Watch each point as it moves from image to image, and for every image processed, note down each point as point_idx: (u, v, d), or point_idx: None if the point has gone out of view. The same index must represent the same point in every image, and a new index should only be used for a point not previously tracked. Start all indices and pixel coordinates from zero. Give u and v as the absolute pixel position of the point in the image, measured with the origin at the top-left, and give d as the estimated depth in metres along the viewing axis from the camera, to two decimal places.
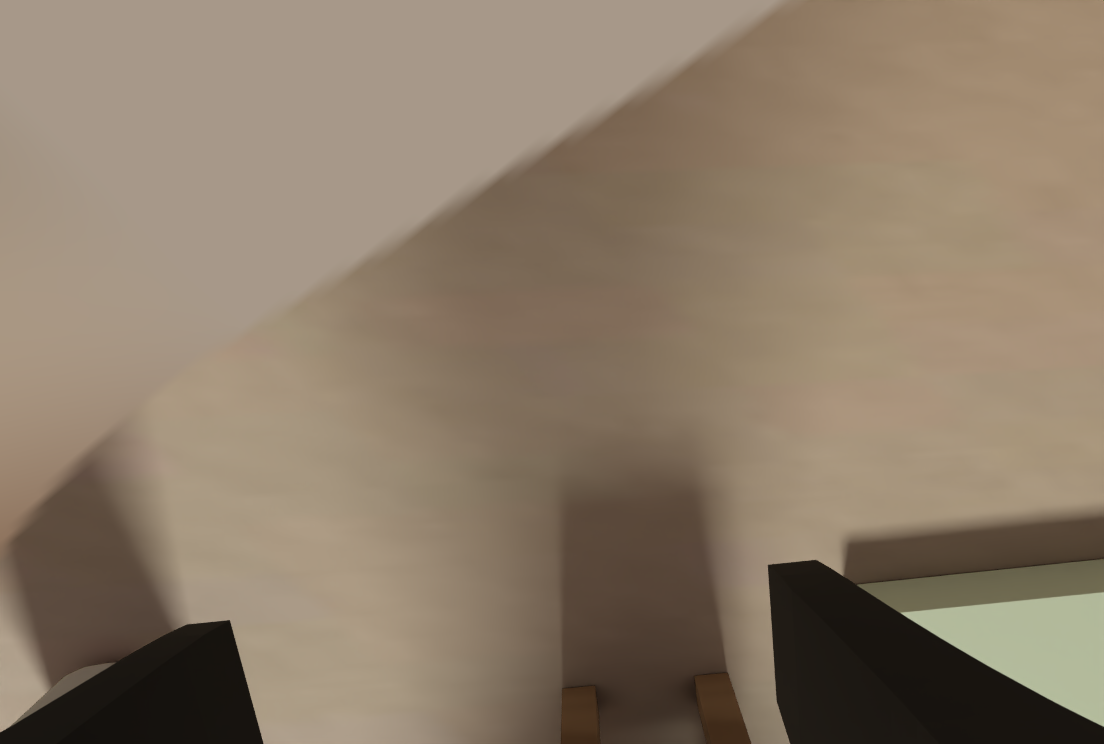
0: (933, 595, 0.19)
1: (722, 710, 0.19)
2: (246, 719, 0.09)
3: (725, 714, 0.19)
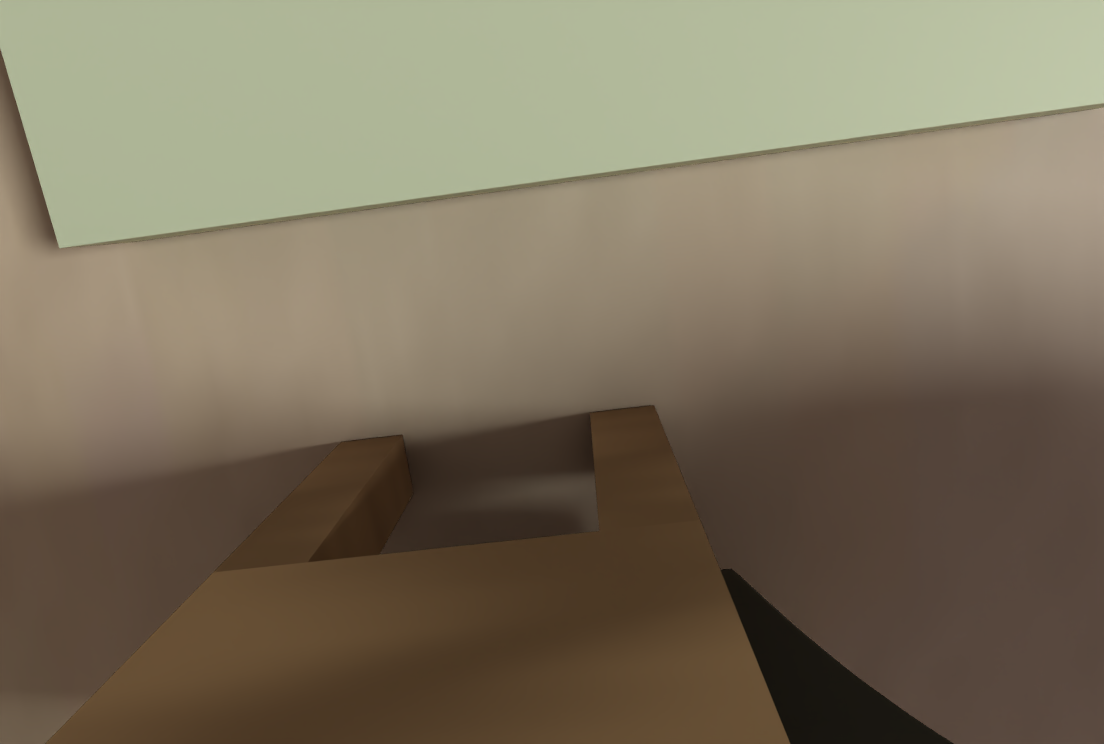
0: None
1: None
2: None
3: None
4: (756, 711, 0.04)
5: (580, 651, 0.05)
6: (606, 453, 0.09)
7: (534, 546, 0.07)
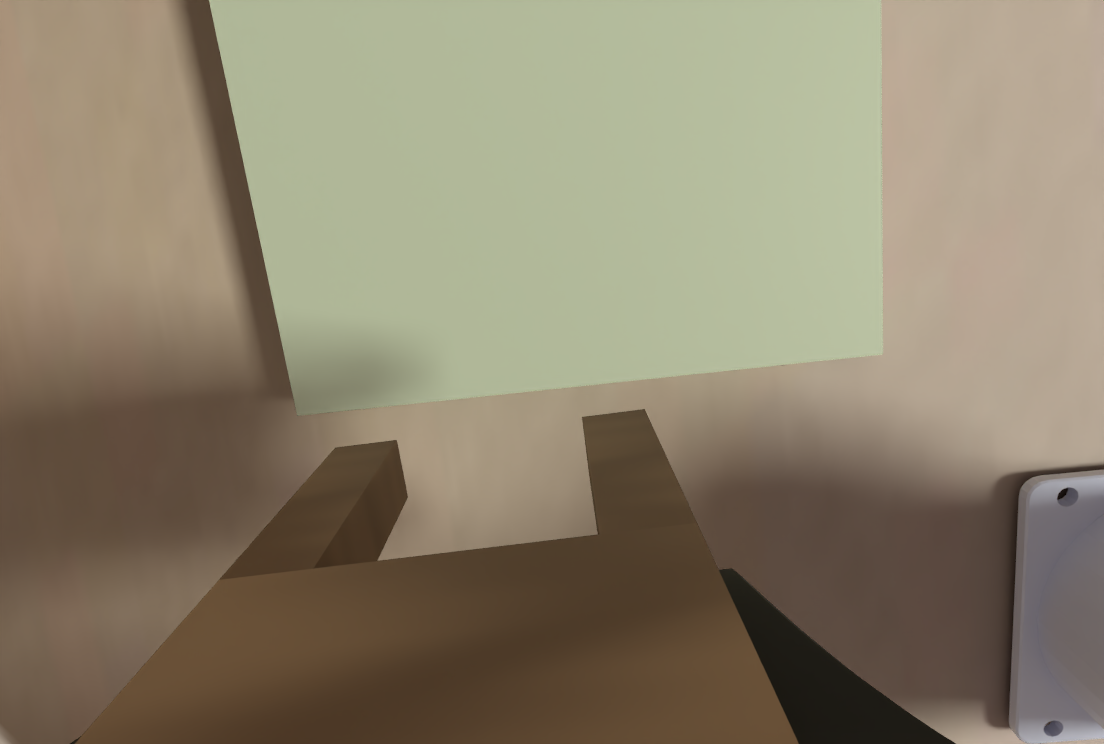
0: None
1: None
2: None
3: None
4: (761, 705, 0.04)
5: (589, 651, 0.05)
6: (601, 457, 0.09)
7: (537, 550, 0.07)
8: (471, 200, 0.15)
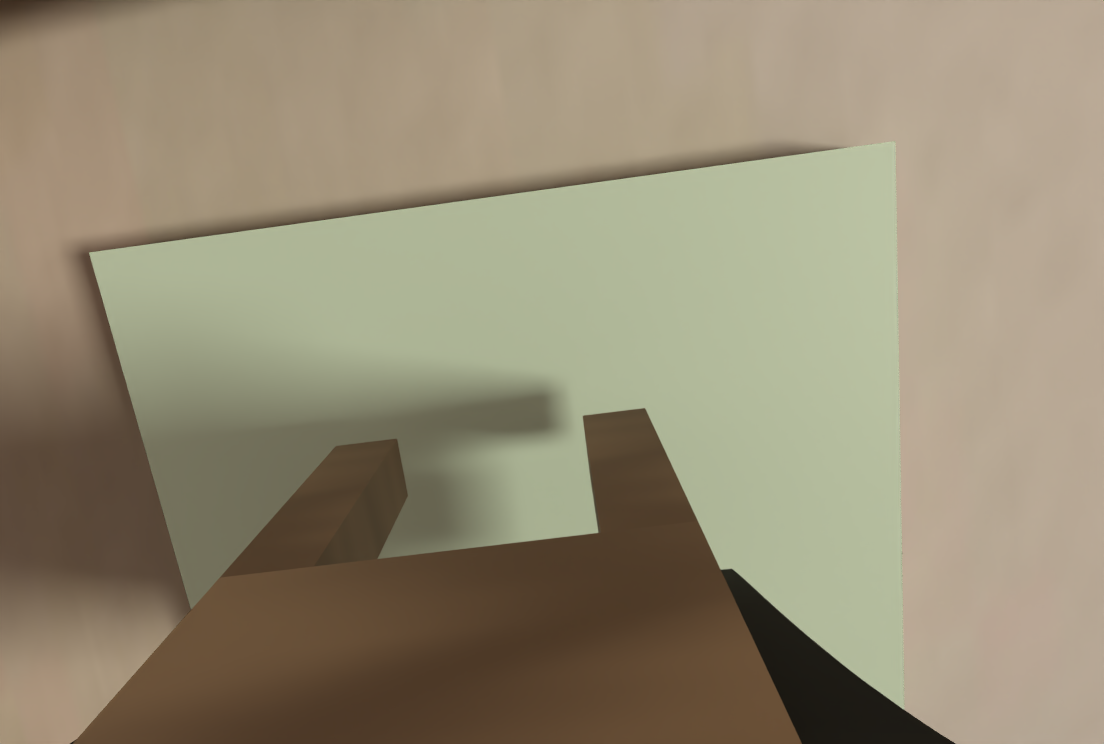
0: None
1: None
2: None
3: None
4: (763, 703, 0.04)
5: (591, 648, 0.05)
6: (601, 456, 0.09)
7: (538, 548, 0.07)
8: None
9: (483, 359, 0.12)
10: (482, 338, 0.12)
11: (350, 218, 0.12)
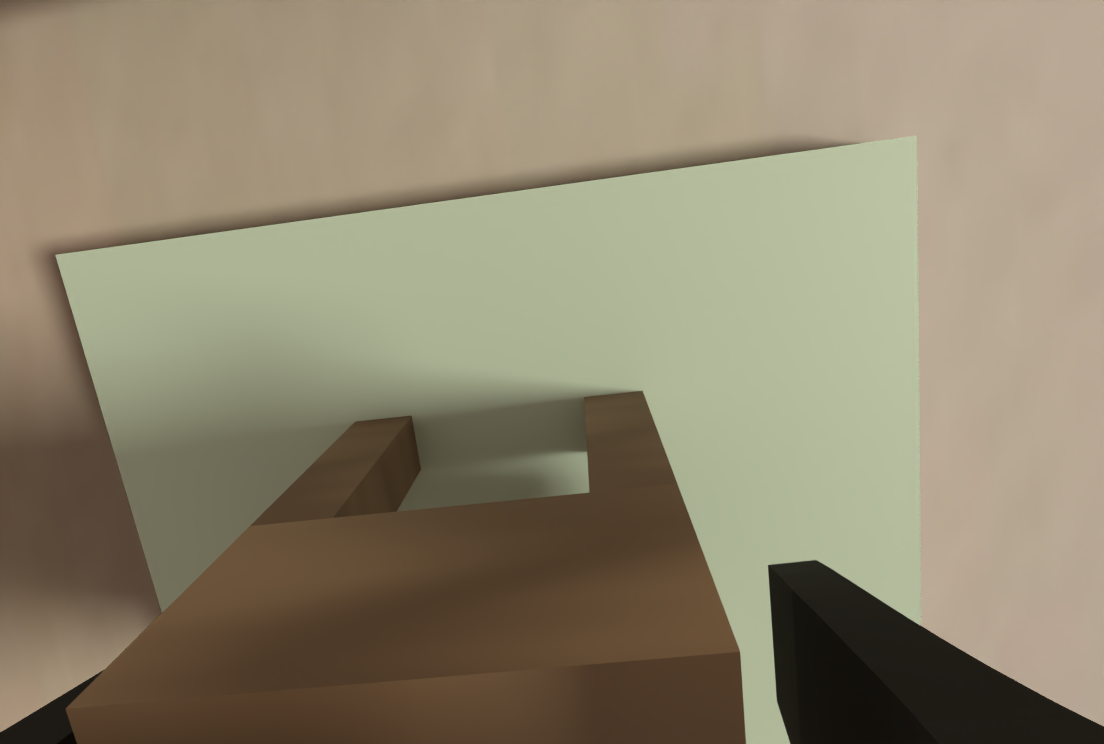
0: None
1: None
2: None
3: None
4: (712, 620, 0.05)
5: (571, 580, 0.06)
6: (597, 430, 0.10)
7: (532, 504, 0.08)
8: None
9: (476, 368, 0.12)
10: (475, 346, 0.12)
11: (334, 218, 0.11)
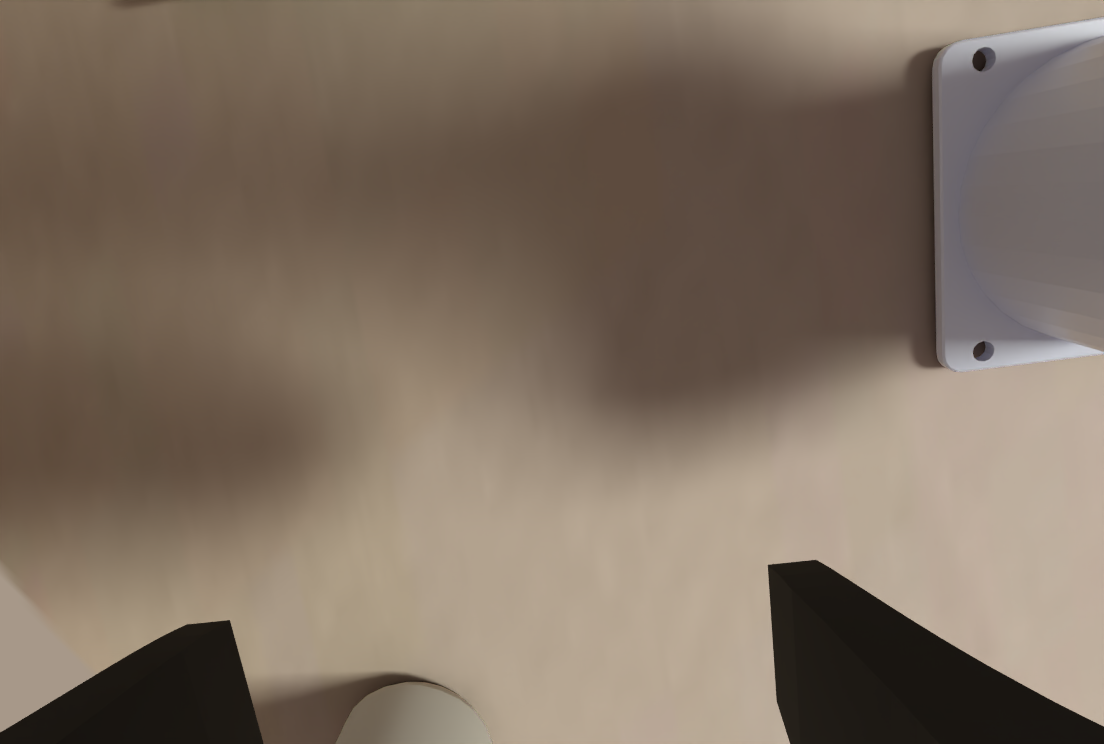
0: None
1: None
2: (246, 719, 0.09)
3: None
4: None
5: None
6: None
7: None
8: None
9: None
10: None
11: None
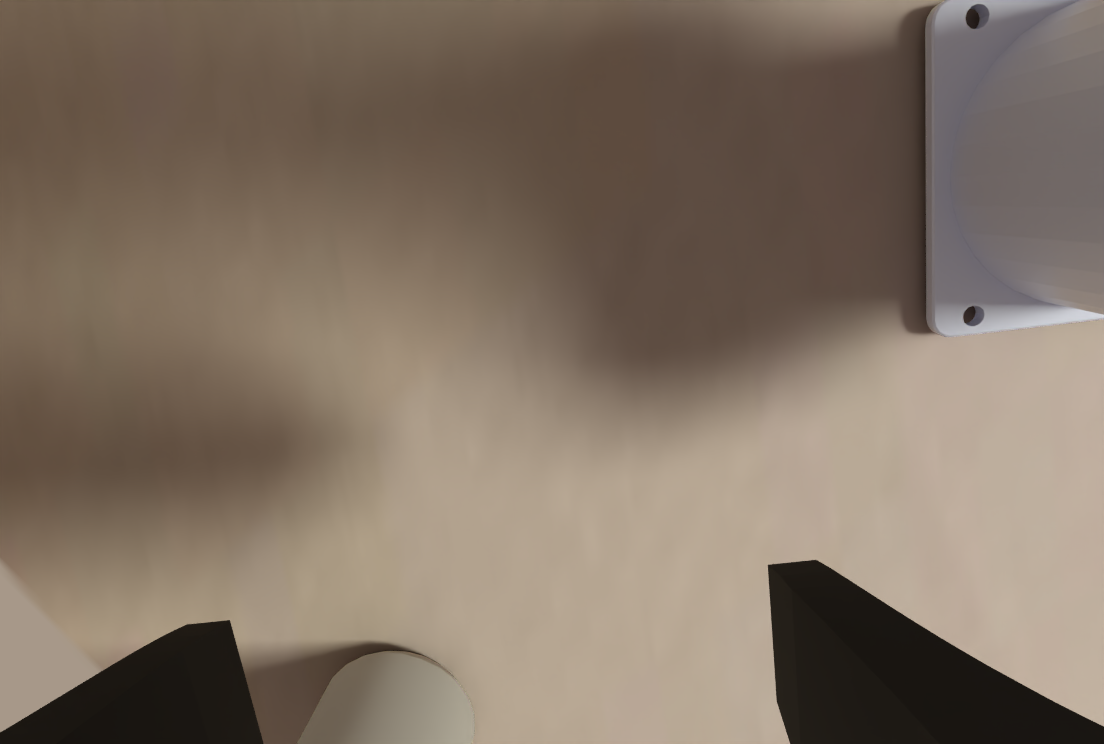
0: None
1: None
2: (246, 719, 0.09)
3: None
4: None
5: None
6: None
7: None
8: None
9: None
10: None
11: None
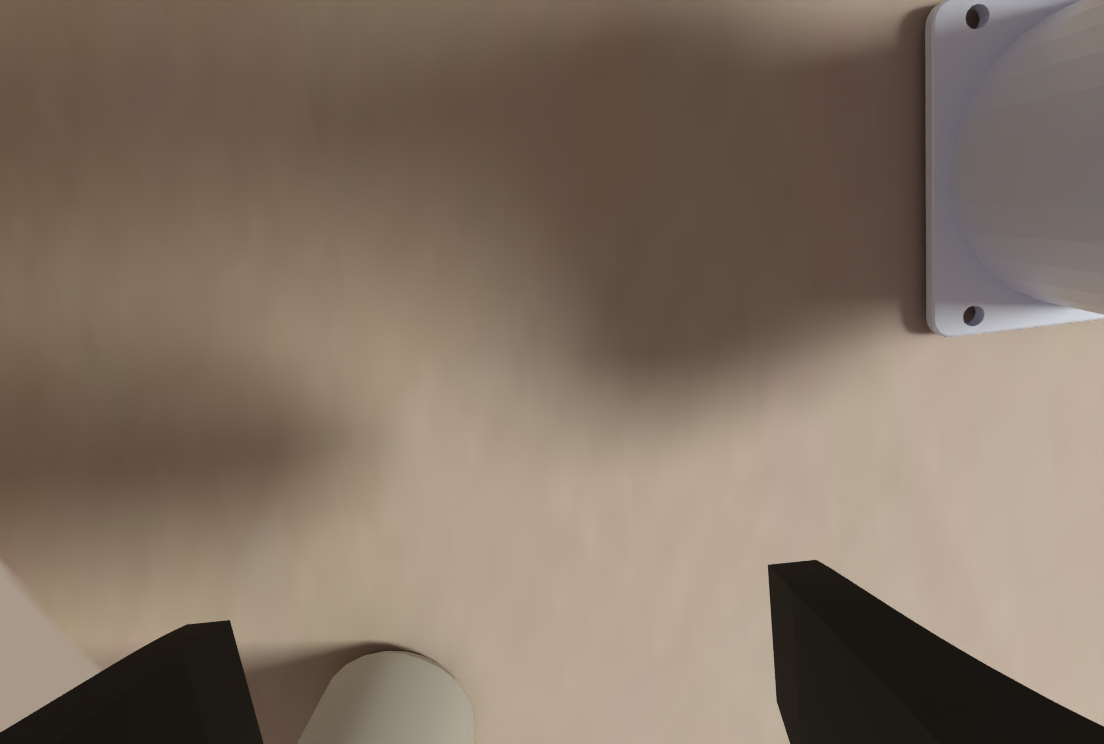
0: None
1: None
2: (246, 719, 0.09)
3: None
4: None
5: None
6: None
7: None
8: None
9: None
10: None
11: None
